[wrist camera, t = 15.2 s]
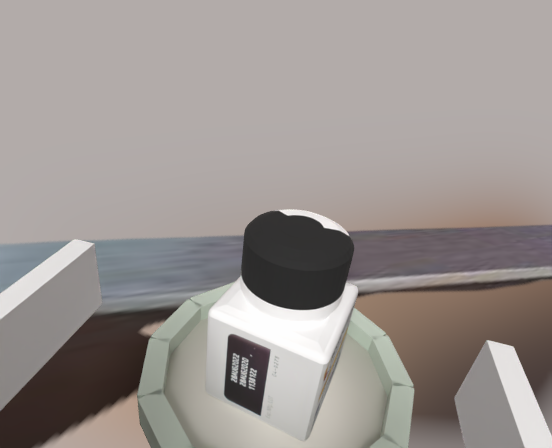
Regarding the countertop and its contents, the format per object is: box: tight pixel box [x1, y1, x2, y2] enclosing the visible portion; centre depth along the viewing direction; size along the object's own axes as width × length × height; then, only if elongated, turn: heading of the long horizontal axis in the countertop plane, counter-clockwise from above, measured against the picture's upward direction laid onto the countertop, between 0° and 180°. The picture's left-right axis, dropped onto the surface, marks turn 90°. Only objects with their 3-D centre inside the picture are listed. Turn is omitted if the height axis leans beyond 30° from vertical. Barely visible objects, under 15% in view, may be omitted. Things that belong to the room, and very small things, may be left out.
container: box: [205, 209, 358, 441], centre depth 25 cm, size 8×8×13 cm
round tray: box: [137, 282, 414, 448], centre depth 28 cm, size 19×19×2 cm
